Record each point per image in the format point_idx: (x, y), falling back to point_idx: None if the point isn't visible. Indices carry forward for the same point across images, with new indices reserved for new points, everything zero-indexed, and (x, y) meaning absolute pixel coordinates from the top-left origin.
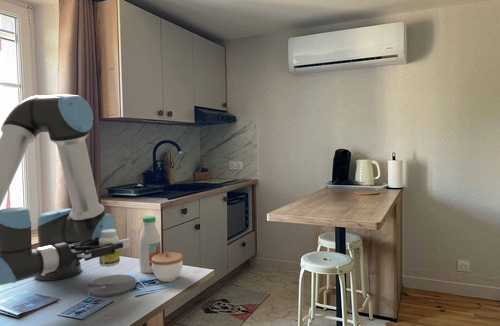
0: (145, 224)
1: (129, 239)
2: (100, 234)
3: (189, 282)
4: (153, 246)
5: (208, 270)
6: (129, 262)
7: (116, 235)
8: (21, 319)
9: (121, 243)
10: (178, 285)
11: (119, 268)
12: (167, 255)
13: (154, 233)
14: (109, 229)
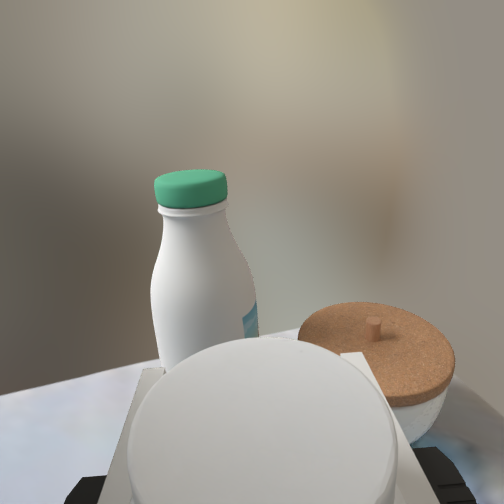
0: (197, 219)
1: (364, 362)
2: None
3: (457, 392)
4: (255, 317)
5: None
6: (55, 417)
7: (145, 372)
8: None
9: (448, 466)
10: (472, 431)
11: (55, 488)
12: (379, 333)
13: (242, 254)
14: (190, 376)
